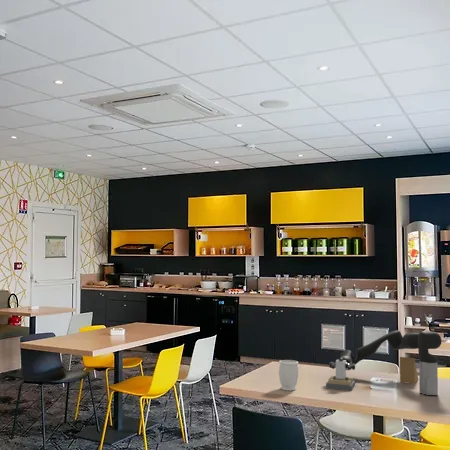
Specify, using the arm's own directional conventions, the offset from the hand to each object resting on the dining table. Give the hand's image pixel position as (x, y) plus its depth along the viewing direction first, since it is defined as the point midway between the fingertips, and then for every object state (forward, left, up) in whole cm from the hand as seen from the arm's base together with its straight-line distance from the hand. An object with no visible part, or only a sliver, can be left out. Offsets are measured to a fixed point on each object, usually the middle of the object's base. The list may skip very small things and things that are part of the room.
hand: (340, 367), depth 302 cm
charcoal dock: (+1, 0, -11) cm, 11 cm away
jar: (-6, +31, -11) cm, 33 cm away
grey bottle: (+1, 0, -8) cm, 8 cm away
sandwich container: (+19, -47, -11) cm, 52 cm away
